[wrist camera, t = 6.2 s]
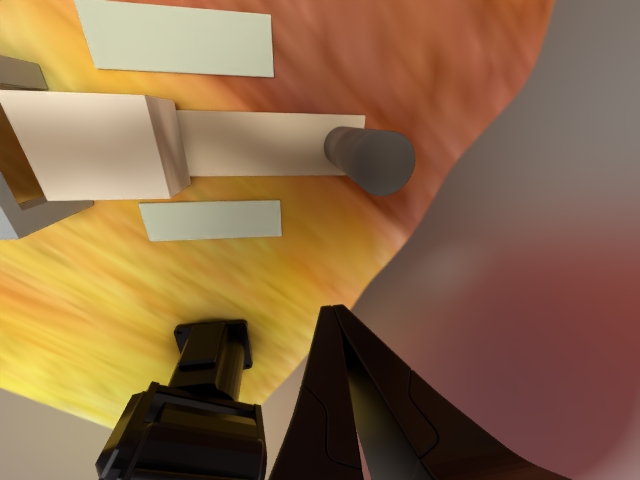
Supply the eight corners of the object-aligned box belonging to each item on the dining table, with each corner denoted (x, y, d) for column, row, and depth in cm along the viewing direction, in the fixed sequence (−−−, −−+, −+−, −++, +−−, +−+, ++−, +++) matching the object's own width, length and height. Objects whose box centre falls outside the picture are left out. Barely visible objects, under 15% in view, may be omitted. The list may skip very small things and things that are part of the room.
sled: (357, 180, 19) (408, 220, 11) (99, 183, 16) (-54, 236, 9) (363, 107, 17) (432, 97, 9) (66, 97, 14) (-173, 71, 7)
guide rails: (281, 234, 20) (281, 236, 20) (151, 239, 19) (149, 241, 19) (270, 16, 14) (270, 14, 14) (77, 0, 13) (72, -3, 13)
